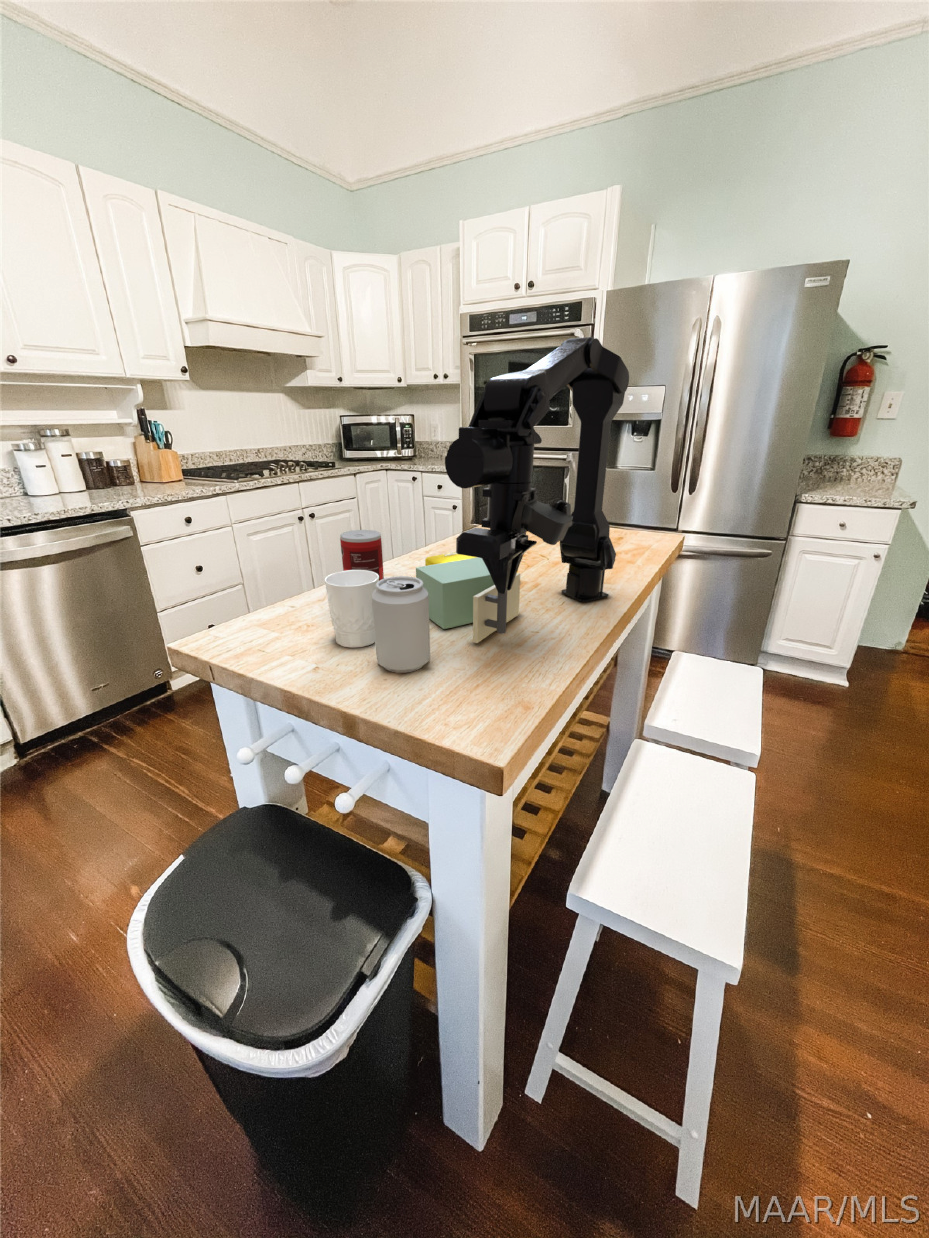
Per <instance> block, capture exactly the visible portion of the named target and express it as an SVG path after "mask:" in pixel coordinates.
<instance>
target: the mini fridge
mask: <svg viewBox="0 0 929 1238" xmlns="http://www.w3.org/2000/svg"><path fill="white" fill-rule="evenodd" d="M415 578H418V579H420V580H422V582H423V587H424V588H425V589H426V590H427V592H428V596H429V620H431V621H432V622H433V623H434V624H436V625H437V626H439V627H440V628H441V629H442V630H447V629H451V628H456V627H461V626H465V625H468V624H473V596H475V595H477V594H479V593H481V592H482V591H484V590H486V589H488V588H490V587H491V586H493V585H494V582H493V580H492V578H491V576H490V573H489V571H488V569H487V567H486V565H485V563H484V561H483V559H482V558H478V557H477V558H471V559H465V560H459V561H453V562H446V563H440V564H434V565H428V566H425V565H424V566H422V565H421V566H416V567H415Z"/></svg>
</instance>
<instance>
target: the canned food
mask: <svg viewBox="0 0 929 1238" xmlns="http://www.w3.org/2000/svg"><path fill="white" fill-rule="evenodd" d="M339 537H340V538H339V541H340V552H341V562H342V571H347V570H367V571H372V572H375V573H377V574H378V575H379V581H380V580H382V579H385V577H384V576H385V575H384V573H385V572H384V557H383V543H382V534H381V532H380V531H376V530H372V529H353V530H347V531H344V532H342V533H341V534H340V535H339Z"/></svg>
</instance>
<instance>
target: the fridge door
mask: <svg viewBox="0 0 929 1238" xmlns="http://www.w3.org/2000/svg"><path fill="white" fill-rule="evenodd" d="M520 590H521V573H520V572H518V573H517V574H516V576H515V579H514V582H513V585H512V588H511V590H506V593H505V594H501V593H498V591H497V589H496V587H495V585H493V586H491V587H490V588H488V589H486V590H484V591H482V592H481V593H479V594H477V595H475V596H473V623H472V642H473V643H475V644H479V643H480V642H482V640H483V641H484V639H486V638H487V637H489V636H490V635H491V634H493V633H494V632H496V633H497V634H500V635H504V634H506V632H507V623H508V622H510V621H512V620H513V619H514V618H516V617H517V616H519V615H520V614H519V612H520V594H521V593H520Z"/></svg>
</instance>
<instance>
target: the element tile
mask: <svg viewBox="0 0 929 1238" xmlns="http://www.w3.org/2000/svg"><path fill="white" fill-rule="evenodd" d="M471 558H477V557H472V556H466V555H461V554H457V553H456V551H453V552H452V551H451V552H447V553H443V554H437V555H430V556H427V557H426V558H425V559H424V566H428V565H434V564H440V563H446V562H453V561H459V560H465V559H471ZM517 573H519V570H518V571H517Z"/></svg>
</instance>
